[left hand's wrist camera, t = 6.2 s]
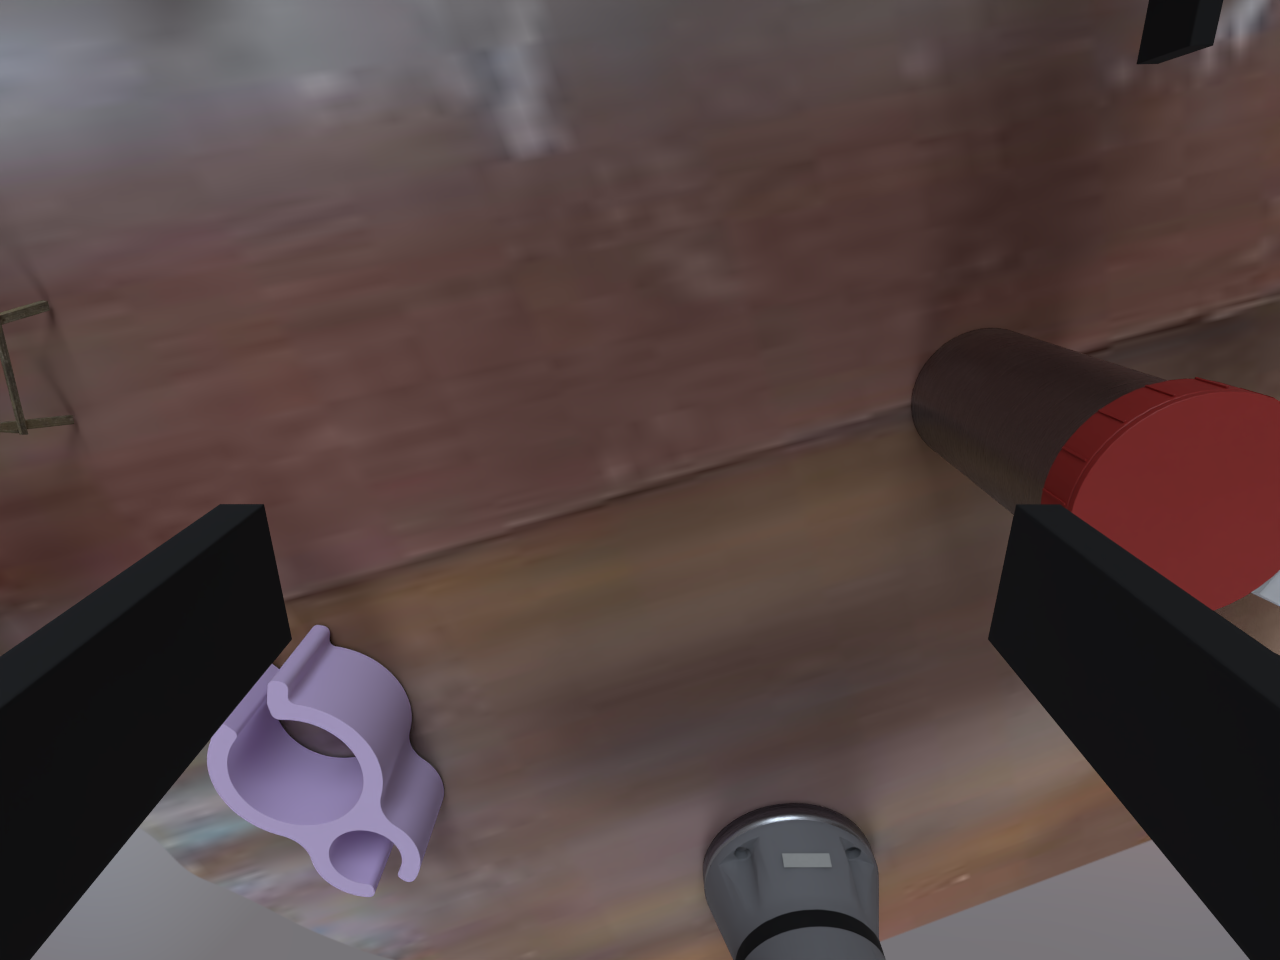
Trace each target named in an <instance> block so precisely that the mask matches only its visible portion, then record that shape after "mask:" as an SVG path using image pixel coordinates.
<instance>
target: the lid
mask: <svg viewBox="0 0 1280 960" xmlns="http://www.w3.org/2000/svg"><path fill="white" fill-rule="evenodd" d="M1042 491H1043V492H1042V496H1041V504H1060V505H1062V506H1063V507H1064V508H1066V509H1067V510H1069V511H1070V512H1072V513H1073V514H1075V515H1076V516H1077V517H1079V518H1080V519H1082V520H1083V521H1085V522H1086V523H1088V524H1089V525H1090V526H1092V527H1093V528H1095V529H1096V530H1098V531H1099V532H1101V533H1102V534H1103V535H1105V536H1106V537H1108V538H1109V539H1111V540H1112V541H1114V542H1115V543H1116V544H1118V545H1119V546H1121V547H1122V548H1124V549H1125V550H1127V551H1128V552H1129V553H1131V554H1132V555H1134V556H1135V557H1137V558H1138V559H1139V560H1141V561H1142V562H1144V563H1145V564H1147V565H1148V566H1150V567H1151V568H1152V569H1154V570H1155V571H1157V572H1158V573H1160V574H1161V575H1163V576H1164V577H1165V578H1167V579H1168V580H1170V581H1171V582H1173V583H1174V584H1176V585H1177V586H1178V587H1180V588H1181V589H1183V590H1184V591H1186V592H1187V593H1189V594H1190V595H1191V596H1193V597H1194V598H1196V599H1197V600H1199V601H1200V602H1202V603H1203V604H1204V605H1206V606H1207V607H1209V608H1210V609H1212V610H1213V611H1214V610H1216V609H1219V608H1221V607H1224V606H1226V605H1229V604H1231V603H1233V602H1235V601H1237V600H1239V599H1241V598H1243V597H1244V596H1246V595H1248V594H1249V593H1251V592H1252V591H1254V590H1256V589H1257V588H1259V587H1260V586H1261V585H1263V584H1264V583H1265V582H1266V581H1268V580H1269V579H1270V578H1272V577H1273V576H1274V575H1275V574H1276V573H1277V572H1278V571H1279V570H1280V401H1278V400H1276V399H1275V398H1273V397H1270V396H1267V395H1263V394H1260V393H1256V392H1253V391H1249V390H1246V389H1243V388H1237V387H1234V386H1230V385H1227V384H1223V383H1220V382H1216V381H1210V380H1205V379H1202V378H1198V377H1195V379H1178V380H1169V381H1164V382H1160V383H1155V384H1151V385H1145V387H1142V388H1139V389H1136V390H1134V391H1132V392H1130V393H1128V394H1126V395H1123V396H1121V397H1119V398H1118V399H1116V400H1114V401H1113V402H1111V403H1109V404H1108V405H1106V406H1104V407H1103V408H1102V409H1099V410H1098V412H1096V413H1095V414H1094V415H1092V416H1091V417H1090V418H1089V419H1088V420H1087V421H1086V422H1085V423H1083V424H1082V425H1081V426H1080V427H1079V428H1078V429H1077V430H1076V432H1075V433H1074V434H1073V435H1072V436H1071V437H1070V438H1069V439H1068V441H1067V442H1066V443H1065V445H1064V446H1063V447H1062V449H1061V451H1060V452H1059V453H1058V455H1057V457H1056V459H1055V461H1054V463H1053V464H1052V466H1051V468H1050V471H1049V473H1048V476H1047V478H1046V481H1045V484H1044V488H1043V489H1042Z"/></svg>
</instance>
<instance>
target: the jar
mask: <svg viewBox="0 0 1280 960" xmlns="http://www.w3.org/2000/svg"><path fill="white" fill-rule="evenodd" d="M1164 381H1167V380H1164V379H1161V378H1158V377H1155V376H1152V375H1148V374H1145V373H1142V372H1139V371H1136V370H1133V369H1130V368H1126V367H1123V366H1120V365H1117V364H1114V363H1111V362H1107V361H1104V360H1101V359H1098V358H1095V357H1092V356H1089V355H1085V354H1082V353H1079V352H1076V351H1073V350H1070V349H1067V348H1063V347H1060V346H1057V345H1054V344H1051V343H1048V342H1044V341H1041V340H1038V339H1035V338H1032V337H1029V336H1026V335H1022V334H1019V333H1016V332H1013V331H1010V330H1006V329H1000V328H985V329H978V330H973V331H970V332H967V333H964V334H962V335H960V336H958V337H956V338H954V339H952V340H950V341H949V342H947V343H946V344H944V345H943V346H942V347H941V348H939V349H938V350H937V351H936V352H935V353H934V354H933V355H932V356H931V357H930V359H929V360H928V361H927V362H926V364H925V365H924V367H923V368H922V370H921V372H920V374H919V376H918V378H917V380H916V383H915V386H914V389H913V395H912V406H911V408H912V417H913V421H914V424H915V427H916V429H917V431H918V433H919V435H920V436H921V438H922V439H923V440H924V442H925V443H926V444H927V445H928V446H929V447H931V448H932V449H933V450H934V451H935V452H937V453H938V454H939V455H940V456H941V457H943V458H944V459H945V460H946V461H948V462H949V463H950V464H951V465H953V466H954V467H955V468H956V469H958V470H959V471H960V472H961V473H963V474H964V475H965V476H966V477H968V478H969V479H970V480H971V481H972V482H974V483H975V484H976V485H977V486H979V487H980V488H981V489H982V490H984V491H985V492H986V493H987V494H989V495H990V496H991V497H992V498H994V499H995V500H996V501H997V502H998V503H1000V504H1001V505H1002V506H1003V507H1005V508H1006V509H1007V510H1008V511H1010V512H1011V513H1012V514H1013V515H1014V512H1015V507H1016V504H1041V496H1042V492H1043V491H1042V489H1043V488H1044V484H1045V481H1046V478H1047V476H1048V473H1049V471H1050V468H1051V466H1052V464H1053V463H1054V461H1055V459H1056V457H1057V455H1058V453H1059V452H1060V451H1061V449H1062V447H1063V446H1064V445H1065V443H1066V442H1067V441H1068V439H1069V438H1070V437H1071V436H1072V435H1073V434H1074V433H1075V432H1076V430H1077V429H1078V428H1079V427H1080V426H1081V425H1082V424H1083V423H1085V422H1086V421H1087V420H1088V419H1089V418H1090V417H1091V416H1092V415H1094V414H1095V413H1096V412H1098V410H1099V409H1102V408H1103V407H1104V406H1106V405H1108V404H1109V403H1111V402H1113V401H1114V400H1116V399H1118V398H1119V397H1121V396H1123V395H1126V394H1128V393H1130V392H1132V391H1134V390H1136V389H1139V388H1142V387H1145V385H1151V384H1155V383H1160V382H1164Z"/></svg>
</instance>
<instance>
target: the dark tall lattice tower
mask: <svg viewBox="0 0 1280 960" xmlns="http://www.w3.org/2000/svg"><path fill="white" fill-rule="evenodd" d="M49 310H50V309H49V305H48V302H47V301H38V302H35V303H32V304H28V305H25V306H22V307H18V308H15V309H11V310H8V311H5V312H1V313H0V358H1V362H2V366H3V370H4V374H5V378H6V382H7V386H8V390H9V394H10V399H11V403H12V407H13V411H14V415H15V419H16V421H9V422H0V432H8V433H19V434H22V435H23V434H28V432H27V429H32V428H42V427H51V426H60V425H69V424H74V420H73V416H72V415H66V416H57V417H47V418H38V419H28V420H24V415H23V411H22V407H21V403H20V399H19V395H18V391H17V387H16V382H15V378H14V374H13V370H12V366H11V362H10V358H9V354H8V350H7V345H6V341H5V337H4V333H3V329H2V324H5V323H9V322H12V321H15V320H19V319H22V318H26V317H29V316H32V315H36V314H39V313H42V312H46V311H49Z"/></svg>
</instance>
